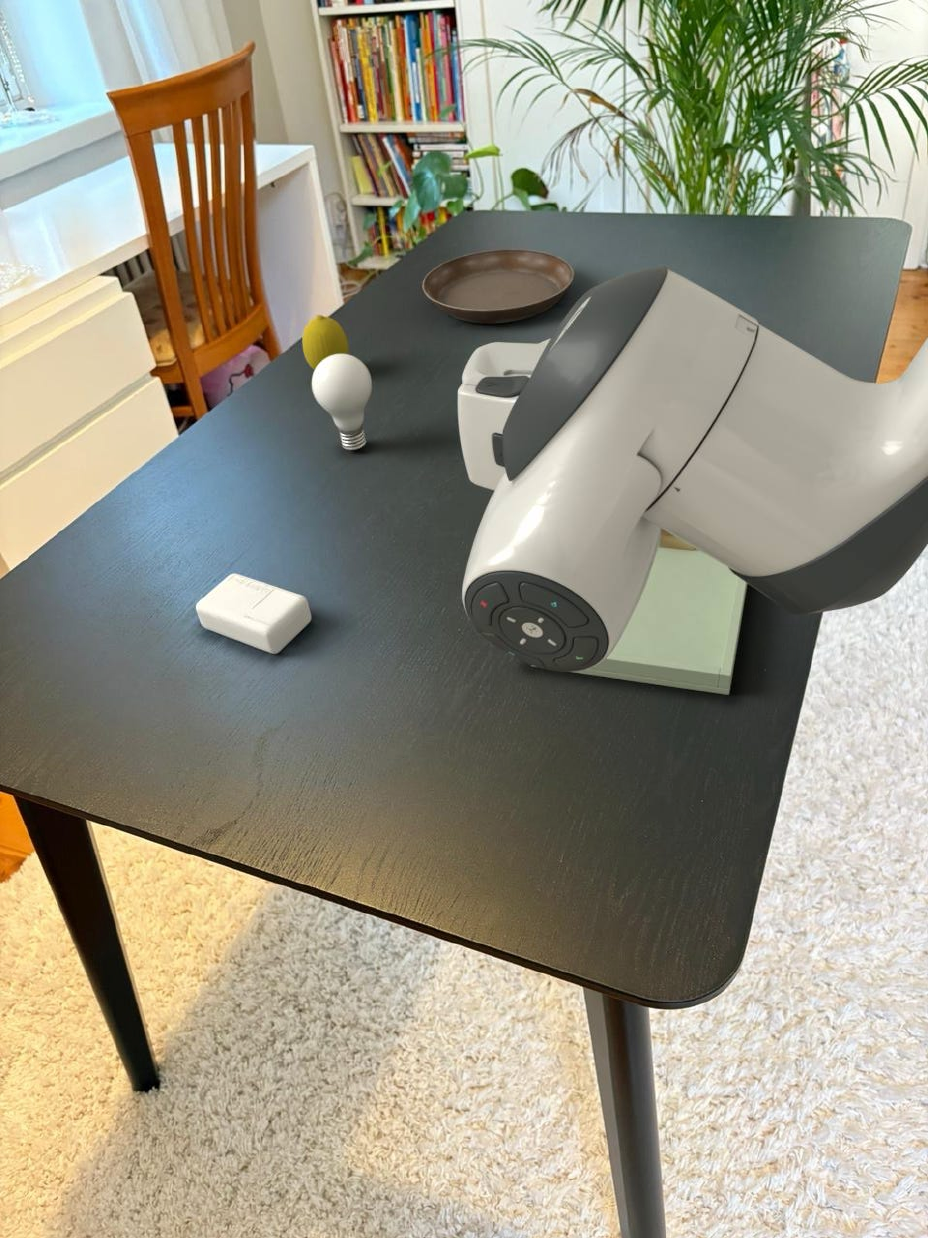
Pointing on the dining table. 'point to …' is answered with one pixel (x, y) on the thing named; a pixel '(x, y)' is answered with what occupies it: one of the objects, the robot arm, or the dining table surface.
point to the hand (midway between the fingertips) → (648, 337)
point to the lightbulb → (344, 395)
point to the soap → (254, 613)
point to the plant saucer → (498, 285)
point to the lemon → (323, 340)
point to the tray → (681, 626)
